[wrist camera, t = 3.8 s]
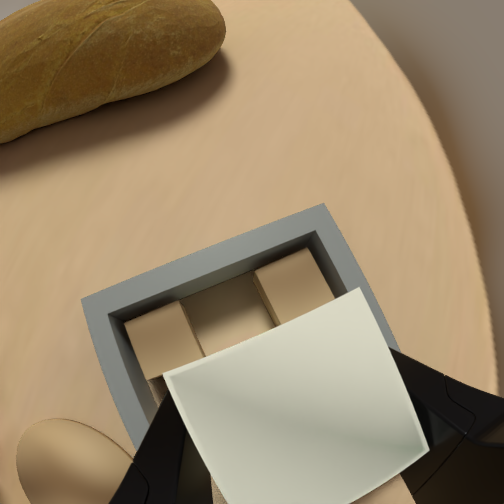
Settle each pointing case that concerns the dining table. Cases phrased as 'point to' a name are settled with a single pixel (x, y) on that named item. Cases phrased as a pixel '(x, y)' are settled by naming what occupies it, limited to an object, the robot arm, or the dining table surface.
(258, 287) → the parts block
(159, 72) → the bread
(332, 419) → the tall square-topped block
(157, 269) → the grey square frame
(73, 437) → the coaster
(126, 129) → the dining table surface
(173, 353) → the block
